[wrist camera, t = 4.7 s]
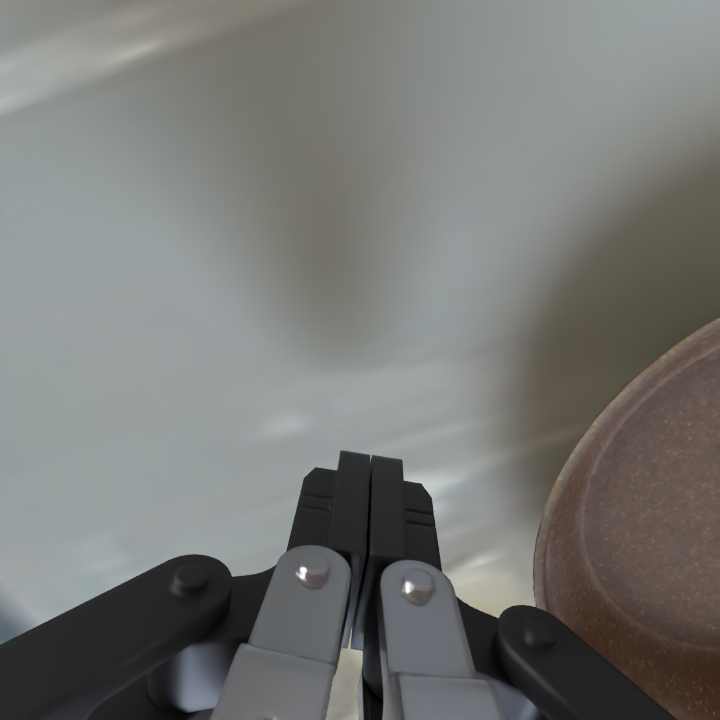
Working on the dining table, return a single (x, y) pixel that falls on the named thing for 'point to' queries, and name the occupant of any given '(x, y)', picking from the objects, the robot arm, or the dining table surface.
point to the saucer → (645, 531)
